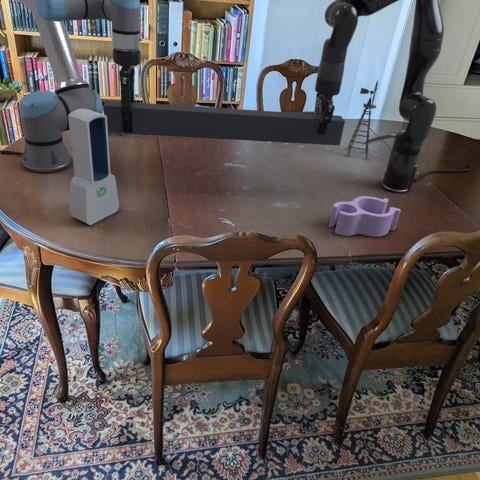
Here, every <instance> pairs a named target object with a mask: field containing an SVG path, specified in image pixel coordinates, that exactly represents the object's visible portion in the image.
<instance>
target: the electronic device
mask: <svg viewBox="0 0 480 480" xmlns="http://www.w3.org/2000/svg"><path fill="white" fill-rule="evenodd" d="M68 119H69V128H70V130H69V135H70V136H69V137H70V145H71V154H72V155H71V156H72V164H73V172H74V175H73V176H72V178H71V180H70V181H69V184H70V185H69V196H68V197H69V199H68V211H69V213H70V216H71V217H73V218H74V219H76V220H78V221H81V222H83V223H84V224H87V225H89V226H92V225H94V224H96V223H98V222H99V221H102V220H103V219H105V218H107V217H109V216H111V215H113V214H115V213H117V212H118V210H119V208H120V202H119V195H118V188H117V181H116V175H114V174H112V173H111V161H110V145H109V143H110V142H109V133H108V127H107V116H106V115H104V113H102V114H100V113H97V112H94V111H91V110H88V109H77V110H75V111H73V112H71V113H70V114H69V115H68Z"/></svg>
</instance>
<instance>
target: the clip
mask: <svg viewBox="0 0 480 480" xmlns="http://www.w3.org/2000/svg"><path fill="white" fill-rule="evenodd" d="M388 203H389V199H388V198H386V197H384V198H379V197H375V196H368V195H363V196H358V197H356V198H354V199H353V200H352V201H337V202H335V203H334V204H333V206H332V210H331V215H330V220H329V223H328V227H330V228H334V226H335V230H334V234H337V235H338V236H339V235H340V236H342V237H343V236H344V237H345V236H346V237H350V236H354V235H363V236H367V237H372V238H374V237H384V236H386V235H388V234H389V231H392V232H393V231H395V229H396V227H397V223H398V220H399V218H400V214H401V209H400V208H397V207H392V206H391V207H390V206H389V209H388V212H386V210H387V208H388V207H387V206H388Z"/></svg>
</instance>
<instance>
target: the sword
mask: <svg viewBox="0 0 480 480" xmlns="http://www.w3.org/2000/svg"><path fill="white" fill-rule="evenodd" d="M396 134H397V132H393V133H390V134H387V135H381V136H378V137H374V138H369V141H368V143H370V142H374V141H378V140H381V139H386V138H390V137H394V136H396Z"/></svg>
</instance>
